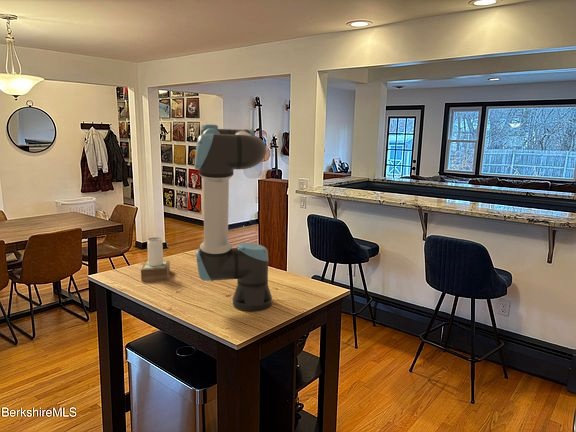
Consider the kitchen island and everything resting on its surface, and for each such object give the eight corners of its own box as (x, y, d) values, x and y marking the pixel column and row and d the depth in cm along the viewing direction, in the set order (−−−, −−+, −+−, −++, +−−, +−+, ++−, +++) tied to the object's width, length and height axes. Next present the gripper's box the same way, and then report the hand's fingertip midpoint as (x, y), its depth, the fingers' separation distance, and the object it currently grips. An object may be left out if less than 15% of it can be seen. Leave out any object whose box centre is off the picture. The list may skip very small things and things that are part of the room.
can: (157, 267, 185) (156, 241, 183) (145, 265, 187) (144, 239, 185) (166, 263, 191) (165, 238, 189) (154, 261, 193) (153, 236, 191)
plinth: (167, 279, 185) (166, 268, 184) (141, 280, 182) (140, 269, 182) (169, 270, 197) (169, 259, 196) (145, 271, 195) (145, 260, 194)
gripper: (219, 161, 175) (219, 210, 179) (217, 158, 199) (218, 202, 203) (201, 161, 174) (202, 211, 178) (201, 158, 198) (202, 202, 202)
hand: (210, 206), depth 190 cm, fingers open, 13 cm apart
